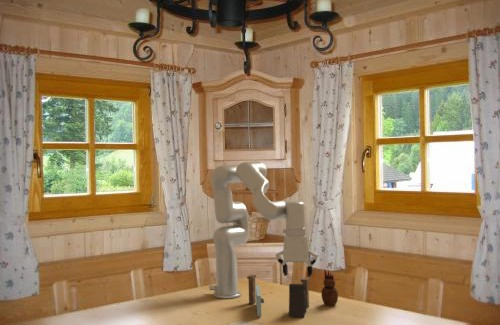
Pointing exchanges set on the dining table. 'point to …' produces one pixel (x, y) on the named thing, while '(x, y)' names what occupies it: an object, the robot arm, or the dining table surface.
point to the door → (258, 300)
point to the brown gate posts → (253, 296)
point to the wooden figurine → (329, 290)
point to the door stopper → (297, 300)
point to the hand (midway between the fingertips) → (297, 275)
